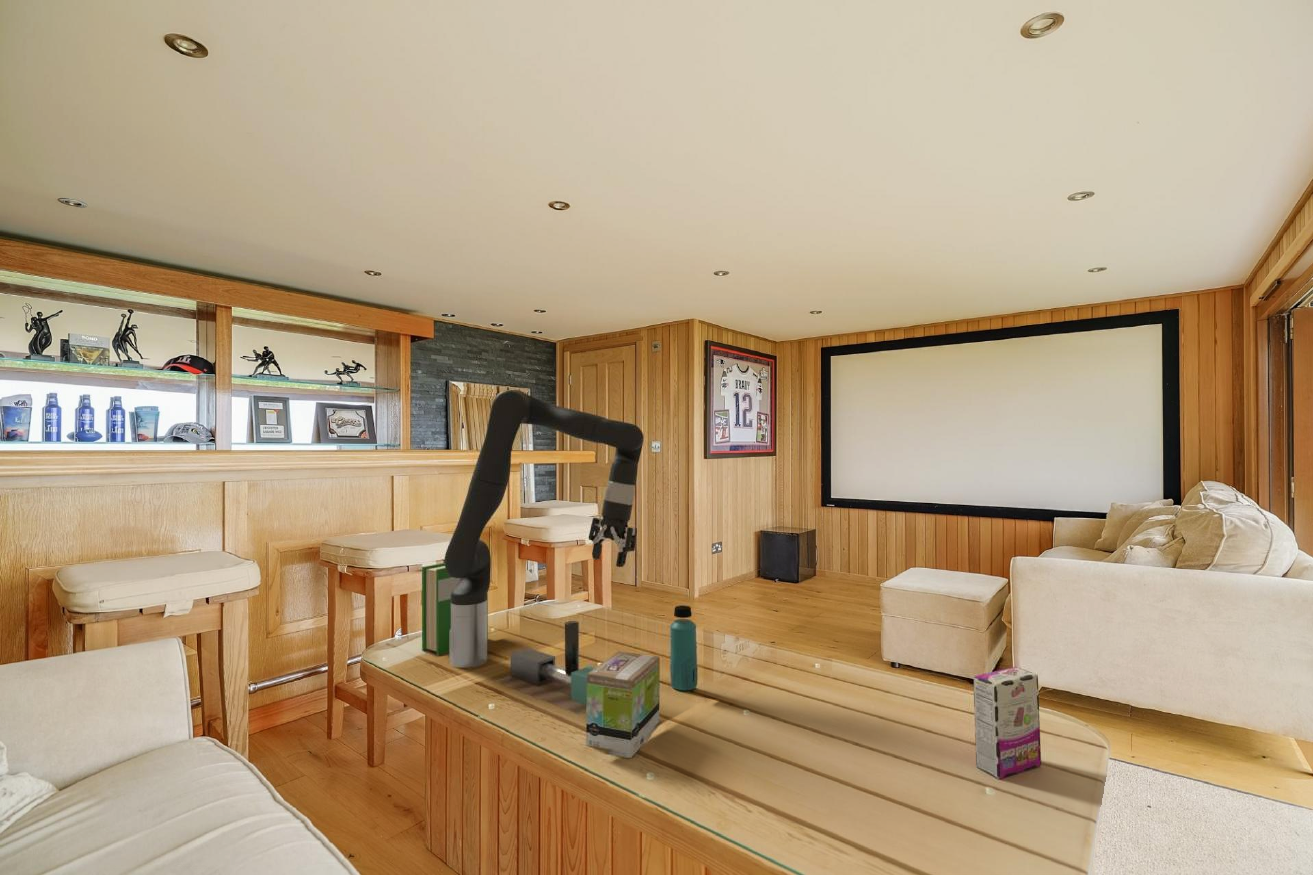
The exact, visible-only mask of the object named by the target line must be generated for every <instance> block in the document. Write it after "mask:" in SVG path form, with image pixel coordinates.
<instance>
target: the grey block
mask: <svg viewBox="0 0 1313 875" xmlns="http://www.w3.org/2000/svg"><path fill="white" fill-rule="evenodd" d="M509 655H510V660H509V661H510V663H509V664H510V676H511V677H513V678H516V679H519V680H521V681H524V682H527V683H529V684H532V685H535V686H537V687H538V686H541V685H543V684H546V683H549V682H551V680H548V679H546V678H543V677H540V664H542V663H545V662H546V663H549V664H552V665H555V666H556V656H554V655H551V654H548V653H546V652H543V651H539V650H536V649H532V648H529V647H527V648H524V649H519V650H516V651H514V652H511V653H510V654H509Z"/></svg>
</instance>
